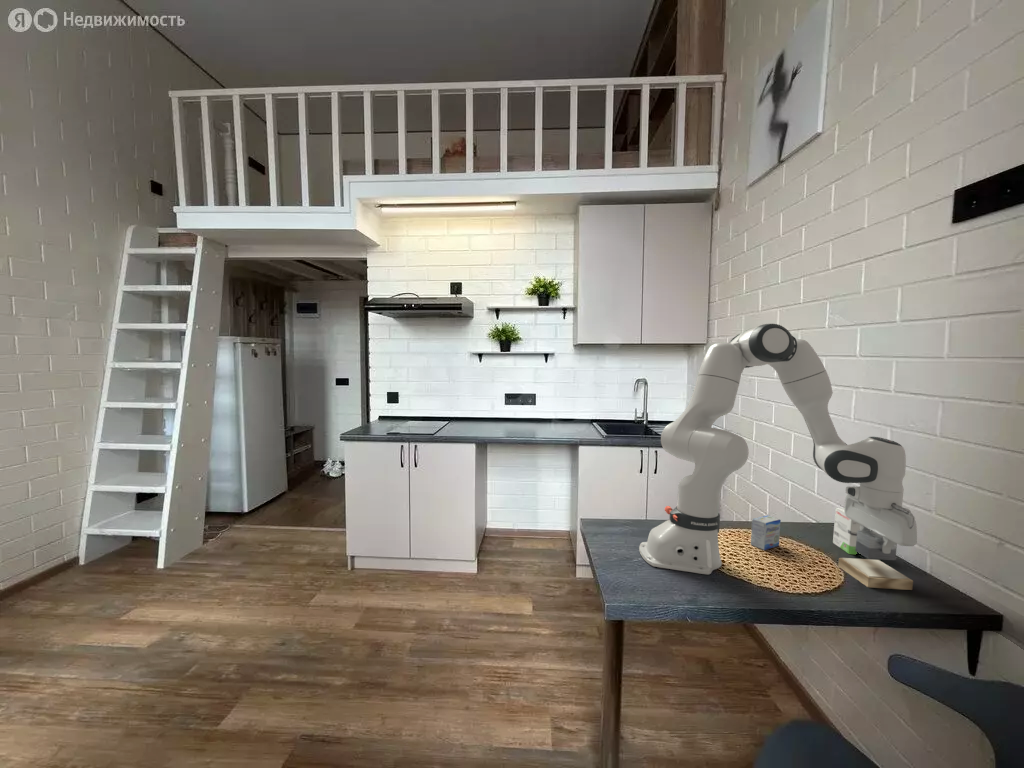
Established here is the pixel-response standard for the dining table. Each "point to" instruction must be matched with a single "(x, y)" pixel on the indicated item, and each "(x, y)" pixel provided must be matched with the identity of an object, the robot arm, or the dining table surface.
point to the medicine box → (765, 532)
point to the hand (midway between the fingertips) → (875, 547)
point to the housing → (873, 546)
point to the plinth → (875, 573)
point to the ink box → (845, 532)
